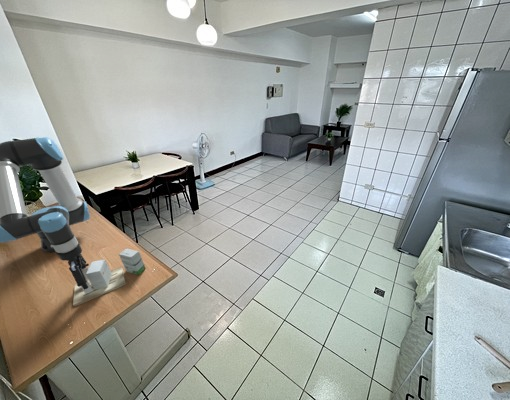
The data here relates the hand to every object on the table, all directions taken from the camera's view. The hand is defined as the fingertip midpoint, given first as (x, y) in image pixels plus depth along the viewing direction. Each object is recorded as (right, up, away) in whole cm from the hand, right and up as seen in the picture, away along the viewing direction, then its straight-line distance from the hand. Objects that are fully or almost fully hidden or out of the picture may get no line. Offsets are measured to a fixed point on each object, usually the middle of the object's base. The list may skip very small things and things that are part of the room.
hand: (89, 284), depth 99 cm
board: (+3, -1, +3) cm, 5 cm away
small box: (+4, 0, +3) cm, 6 cm away
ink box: (+15, +3, +11) cm, 19 cm away
